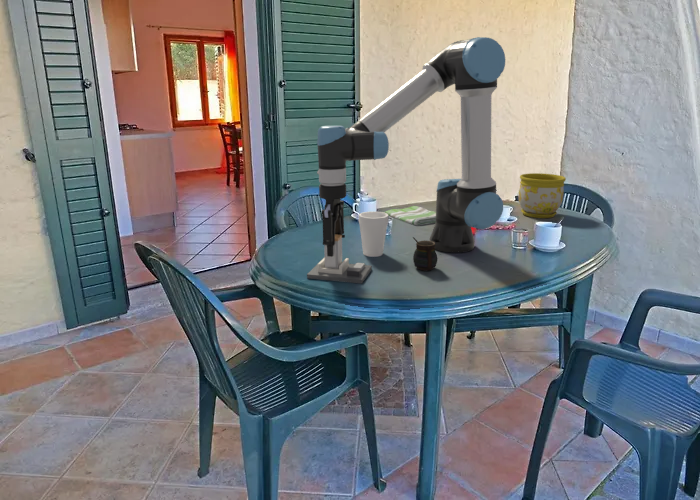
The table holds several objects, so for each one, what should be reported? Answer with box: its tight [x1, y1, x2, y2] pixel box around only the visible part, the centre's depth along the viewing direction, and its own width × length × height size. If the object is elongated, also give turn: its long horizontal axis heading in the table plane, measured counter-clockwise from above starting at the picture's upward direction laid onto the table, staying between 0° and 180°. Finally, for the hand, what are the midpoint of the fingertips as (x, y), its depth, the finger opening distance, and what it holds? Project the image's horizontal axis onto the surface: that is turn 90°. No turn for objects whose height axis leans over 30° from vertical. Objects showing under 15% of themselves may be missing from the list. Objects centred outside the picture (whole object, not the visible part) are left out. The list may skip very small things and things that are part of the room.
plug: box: [323, 234, 343, 269], centre depth 147 cm, size 4×4×10 cm
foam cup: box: [358, 211, 389, 258], centre depth 164 cm, size 10×9×13 cm
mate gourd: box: [412, 236, 439, 272], centre depth 151 cm, size 7×8×10 cm
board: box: [306, 256, 373, 284], centre depth 147 cm, size 16×12×4 cm
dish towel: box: [384, 205, 436, 226], centre depth 213 cm, size 17×23×4 cm
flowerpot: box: [517, 172, 567, 219], centre depth 215 cm, size 18×18×16 cm
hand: (334, 262), depth 148 cm, fingers open, 5 cm apart
